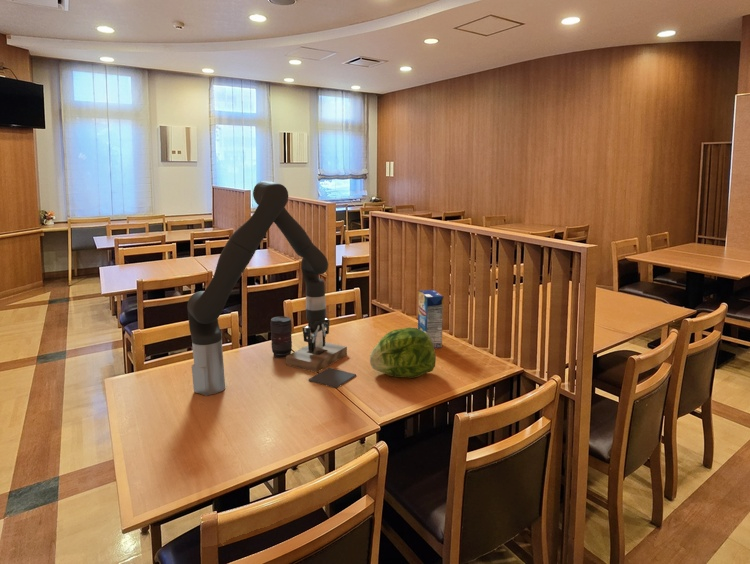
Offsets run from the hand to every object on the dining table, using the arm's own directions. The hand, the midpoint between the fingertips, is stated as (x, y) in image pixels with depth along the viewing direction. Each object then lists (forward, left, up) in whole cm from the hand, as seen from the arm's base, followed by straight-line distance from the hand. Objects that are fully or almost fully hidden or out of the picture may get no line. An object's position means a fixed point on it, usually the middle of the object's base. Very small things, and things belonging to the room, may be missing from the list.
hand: (317, 348), depth 191 cm
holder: (0, 0, -5) cm, 5 cm away
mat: (-11, -15, -5) cm, 19 cm away
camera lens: (-3, +15, -5) cm, 16 cm away
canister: (0, 0, -5) cm, 5 cm away
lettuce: (+4, -35, -5) cm, 36 cm away
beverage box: (+38, -30, -5) cm, 49 cm away
